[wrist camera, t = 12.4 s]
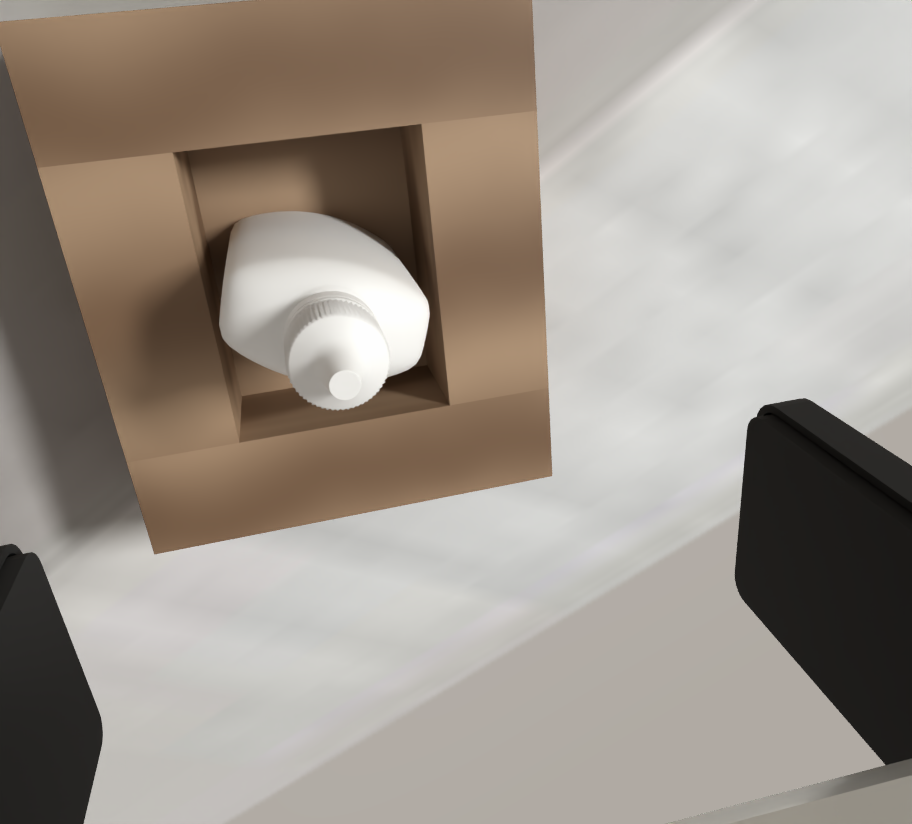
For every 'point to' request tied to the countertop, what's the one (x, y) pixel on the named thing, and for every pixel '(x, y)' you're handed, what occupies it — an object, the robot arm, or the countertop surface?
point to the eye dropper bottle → (321, 305)
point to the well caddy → (307, 190)
